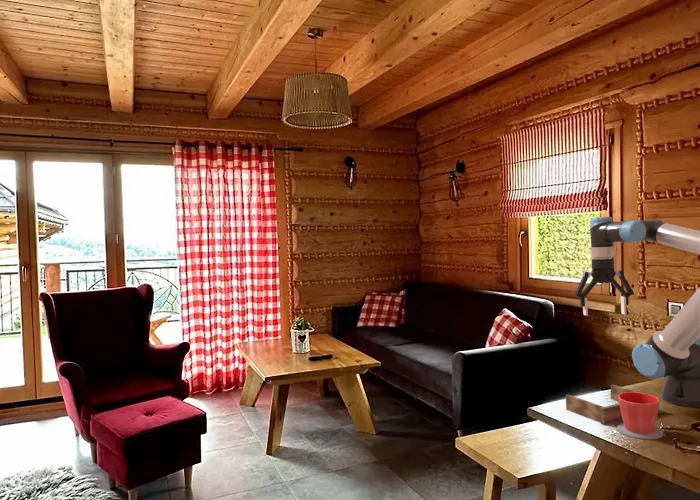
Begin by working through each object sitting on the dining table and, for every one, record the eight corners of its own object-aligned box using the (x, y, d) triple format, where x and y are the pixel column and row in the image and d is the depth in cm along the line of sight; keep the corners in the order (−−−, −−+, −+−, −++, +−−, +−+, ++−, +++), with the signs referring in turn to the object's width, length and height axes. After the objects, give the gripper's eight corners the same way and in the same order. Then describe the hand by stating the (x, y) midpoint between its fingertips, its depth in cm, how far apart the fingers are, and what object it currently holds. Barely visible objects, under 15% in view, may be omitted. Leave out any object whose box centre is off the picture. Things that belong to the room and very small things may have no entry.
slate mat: (651, 423, 156) (651, 421, 156) (671, 439, 144) (671, 437, 144) (611, 423, 157) (610, 422, 157) (627, 439, 145) (626, 437, 145)
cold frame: (564, 409, 171) (564, 395, 171) (614, 398, 180) (614, 384, 180) (604, 424, 157) (603, 409, 157) (655, 411, 166) (655, 396, 166)
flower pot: (667, 437, 144) (665, 403, 144) (625, 436, 147) (624, 403, 146) (652, 423, 155) (651, 392, 154) (614, 422, 157) (613, 391, 157)
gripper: (633, 256, 190) (635, 311, 190) (564, 259, 193) (566, 313, 194) (642, 257, 182) (644, 315, 183) (570, 260, 186) (572, 317, 186)
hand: (604, 314), depth 188 cm, fingers open, 13 cm apart
